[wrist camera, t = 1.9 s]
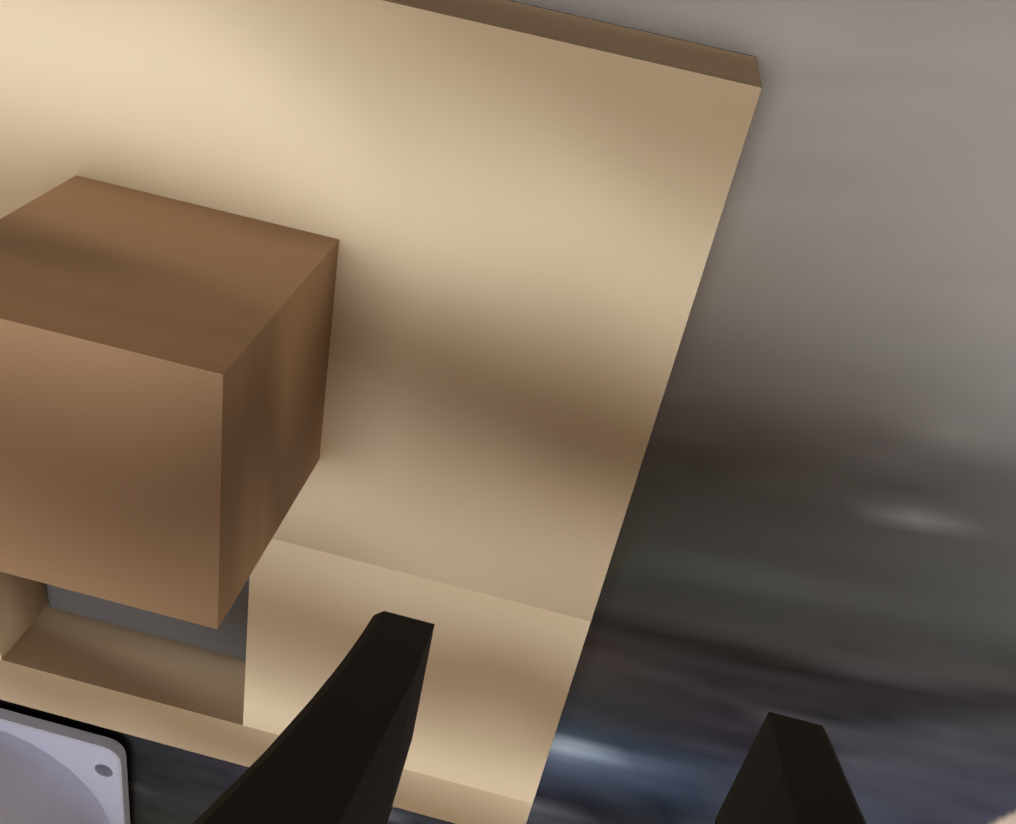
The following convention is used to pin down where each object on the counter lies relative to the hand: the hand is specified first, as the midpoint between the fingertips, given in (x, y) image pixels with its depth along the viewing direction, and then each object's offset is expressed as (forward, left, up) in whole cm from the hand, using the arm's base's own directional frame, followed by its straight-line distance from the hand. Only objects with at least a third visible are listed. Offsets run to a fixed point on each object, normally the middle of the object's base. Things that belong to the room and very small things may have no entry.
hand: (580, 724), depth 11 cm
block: (0, +8, -6) cm, 10 cm away
